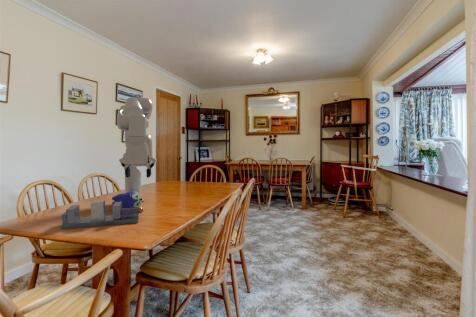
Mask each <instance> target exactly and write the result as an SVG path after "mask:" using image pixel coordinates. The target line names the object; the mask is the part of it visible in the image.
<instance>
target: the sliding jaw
mask: <svg viewBox="0 0 476 317" xmlns="http://www.w3.org/2000/svg"><path fill="white" fill-rule="evenodd" d="M143 212H144V209H143V207H140V206H139V207H137V208H123V209H122V202H115V203H114V205H113V204H112V215H113V219H120V218H121V216H122V215H126V214H139V215H140V214H143Z"/></svg>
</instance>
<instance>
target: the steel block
mask: <svg viewBox="0 0 476 317" xmlns="http://www.w3.org/2000/svg"><path fill="white" fill-rule="evenodd" d="M105 216H106V199H97V200H95V199H94V200H92V201H91V202H90V217H91V221H93V220H104V218H105Z"/></svg>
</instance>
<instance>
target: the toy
mask: <svg viewBox="0 0 476 317" xmlns="http://www.w3.org/2000/svg"><path fill="white" fill-rule="evenodd" d="M142 198H143V197H142V195H141V196H140V194H139V193H138V192H127V193H125V192H123V193H118V194H116V195H114V196H112V198H111V199H112V203H111V204H112V206H113V205H114V203H115V202H122V209H123V208H137V207H140V206H141V204H142V202H141V200H142Z"/></svg>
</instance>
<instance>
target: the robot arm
mask: <svg viewBox="0 0 476 317" xmlns="http://www.w3.org/2000/svg"><path fill="white" fill-rule="evenodd" d="M152 113H153V102H152V100H151V99H149V98H148V97H138V96H137V97H136V96H135V97H133V96H132V97H131V96H130V97H128V98H127V99H126V100H125V102H124V105H121V106H120V107H119V111H118V112H117V115H116V124H117V128H118V129H119V130H121V131H124V143H125V144H124V145H125V148H126V149H125V152H124V153H123V155H122V158H119V160H118V161H119V163H120V165H121V167H123V170H124V193H127V192H138V193H139V194H140V196H141V198H142V200H141V203H142V202H144V201H145V199H144V197H142V173H141V171H140V169H138V167H146V168H147V169H146V170H145V172H146V178H147V179H149V178H151V176H152V169H153V167H155V164H156V162H157V161H158V160H157V158H155V157H153V140H152V136H151V135H150V134H147V129H148V128H149V119H150V118H151V115H152Z"/></svg>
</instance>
